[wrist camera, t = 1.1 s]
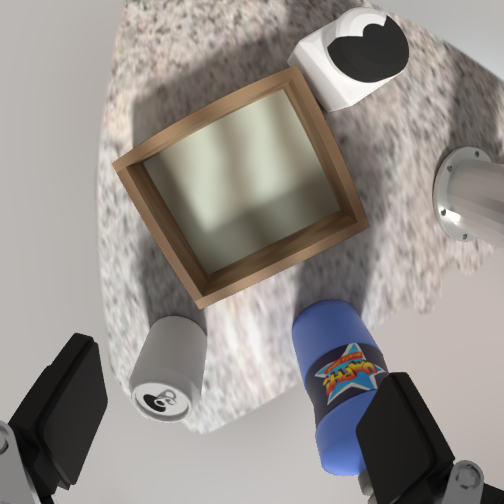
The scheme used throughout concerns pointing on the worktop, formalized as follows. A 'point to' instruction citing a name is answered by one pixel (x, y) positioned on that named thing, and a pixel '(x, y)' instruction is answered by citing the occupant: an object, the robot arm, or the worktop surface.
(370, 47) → the medicine bottle
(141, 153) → the crate
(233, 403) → the worktop surface
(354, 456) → the water bottle
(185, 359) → the can
